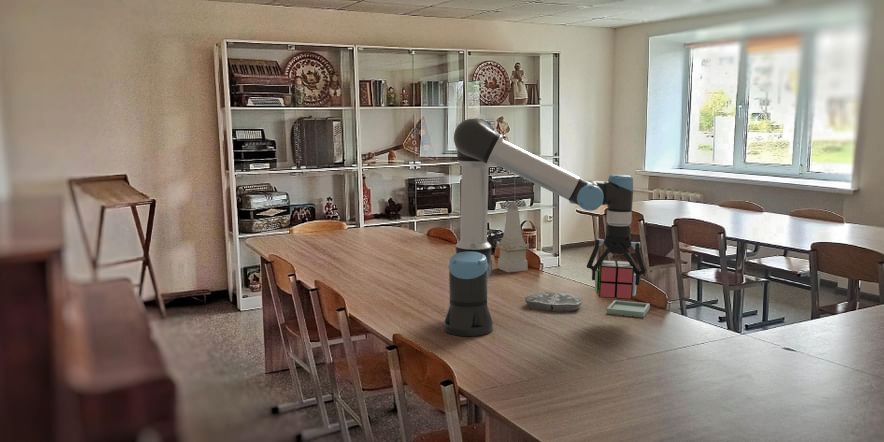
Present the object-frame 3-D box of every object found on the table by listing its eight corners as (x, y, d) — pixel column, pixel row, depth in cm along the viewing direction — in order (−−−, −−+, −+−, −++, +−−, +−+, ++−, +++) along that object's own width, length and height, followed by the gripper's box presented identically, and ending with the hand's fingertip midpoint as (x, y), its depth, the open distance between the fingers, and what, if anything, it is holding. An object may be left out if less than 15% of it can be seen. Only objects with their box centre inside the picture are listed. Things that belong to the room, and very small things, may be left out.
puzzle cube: (632, 299, 214) (634, 268, 213) (598, 297, 216) (600, 266, 215) (630, 292, 224) (632, 261, 222) (598, 290, 226) (600, 259, 224)
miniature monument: (529, 270, 300) (529, 201, 296) (507, 272, 296) (507, 203, 292) (517, 266, 310) (518, 199, 306) (496, 268, 306) (496, 200, 302)
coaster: (643, 317, 226) (643, 312, 226) (606, 313, 231) (606, 308, 231) (649, 308, 237) (649, 303, 237) (614, 305, 242) (614, 300, 242)
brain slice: (584, 302, 248) (584, 294, 247) (580, 314, 231) (580, 306, 231) (529, 299, 253) (529, 291, 252) (522, 311, 237) (522, 302, 236)
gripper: (659, 225, 215) (655, 294, 218) (584, 220, 225) (581, 285, 228) (655, 228, 208) (651, 299, 211) (578, 222, 218) (575, 290, 221)
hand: (615, 292), depth 220 cm, fingers closed on puzzle cube, 11 cm apart
